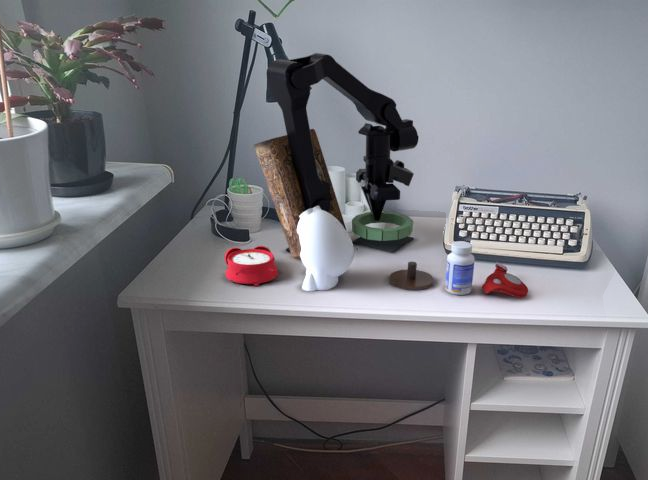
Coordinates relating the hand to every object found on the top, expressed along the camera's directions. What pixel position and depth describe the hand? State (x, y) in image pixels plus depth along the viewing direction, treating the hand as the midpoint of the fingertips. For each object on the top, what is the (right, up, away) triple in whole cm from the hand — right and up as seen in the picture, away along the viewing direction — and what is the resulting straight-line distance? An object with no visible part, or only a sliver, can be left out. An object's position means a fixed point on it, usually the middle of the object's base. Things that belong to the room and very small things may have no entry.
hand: (376, 219), depth 154 cm
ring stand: (+8, -18, -24) cm, 31 cm away
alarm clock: (-25, -16, -24) cm, 38 cm away
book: (-12, -9, -10) cm, 18 cm away
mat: (+2, -6, -4) cm, 7 cm away
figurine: (-9, -18, -25) cm, 32 cm away
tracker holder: (+27, -20, -25) cm, 42 cm away
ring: (+2, -4, -5) cm, 6 cm away
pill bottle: (+18, -20, -26) cm, 38 cm away
